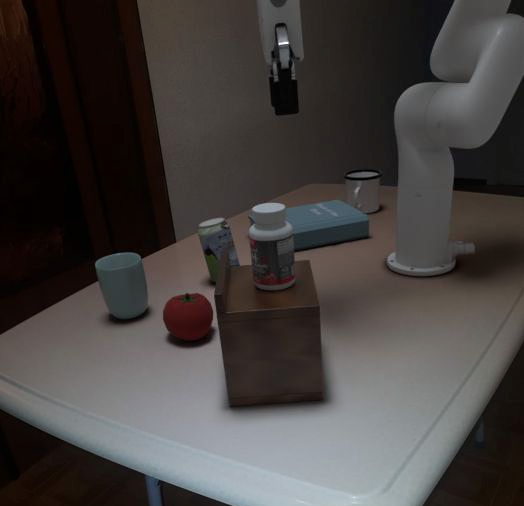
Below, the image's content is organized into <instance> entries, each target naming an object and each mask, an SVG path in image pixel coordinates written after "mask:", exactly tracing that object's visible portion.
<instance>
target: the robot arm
mask: <svg viewBox="0 0 524 506" xmlns="http://www.w3.org/2000/svg"><path fill="white" fill-rule="evenodd" d="M511 2H512V0H454V1H453V4H452V6H451V8H450V10H449V12H448V14H447V16H446V18H445V20H444V23H443V24H442V27H441V29H440V30H439V33H438V35H437V37H436V39H435V42H434V45H433V47H432V50H431V52H430V57H429V58H430V59H429V68H430V70H431V73H432V74H433V75H434V76H435V77H436V78H437V79H439V80H441V81H440V82H439V81H430V82H429V81H428V82H427V81H426V82H420V83H416V84H413V85H412V86H410V87H408V88H407V89H406V90H405V91H403V92H402V94H401V95H400V97H398V99H397V102H396V104H395V108H394V112H393V123H394V132H395V137H396V145H397V155H398V156H397V159H398V167H397V168H398V175H397V178H398V179H397V196H396V198H397V200H396V201H397V202H396V224H395V225H396V226H395V251H394V252H392V253H390V254H389V255H388V256H387V257H386V265H387V267H388V269H390V270H391V271H393V272H395V273H397V274H401V275H406V276H412V277H430V276H438V275H442V274H445V273H447V272H450V271H452V270H453V269H454V268H455V267H456V257H457V256H458V255H470V254H474V253H475V248H476V247H475V243H474V242H471V243H464V241H463V240H458V241H452V240H450V228H451V214H452V203H453V202H452V201H453V191H454V180H455V163H454V159H453V155H452V153H451V150H450V148H453V149H454V148H456V149H468V150H471V149H477V148H479V147H481V146H483V145H485V144H486V143H487V142H488V141H489V140H490V139H491V138H492V136H493V135H494V134H495V132H496V130H497V128H498V127H499V125H500V123H501V121H502V119H503V117H504V116H505V113H506V111H507V109H508V107H509V105H510V103H511V101H512V99H513V97H514V95H515V93H516V91H517V89H518V88H519V86H520V83H521V81H522V80H523V78H524V16H522V15H520V14H517V13H516V14H515V13H508V10H509V7H510V4H511ZM256 9H257V10H256V11H257V18H258V19H257V20H258V29H259V34H260V36H259V37H260V42H261V47H262V53H263V57H264V61H265V63H266V64H268V65H269V66H268V67H269V76H268V83H269V95H270V105H271V107H273V108H274V114H275V116H276V117H282V116H290V115H291V116H292V115H297V114H299V112H300V102H299V88H298V79H296V78H297V77H296V68H295V61H296V62H297V63H301V62H302V61H303V60H304V59H305V53H304V42H303V30H302V29H303V28H302V17H301V16H302V15H301V2H300V0H256Z"/></svg>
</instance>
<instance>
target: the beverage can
mask: <svg viewBox="0 0 524 506" xmlns="http://www.w3.org/2000/svg"><path fill="white" fill-rule="evenodd" d="M197 235H198V239H199V243H200V245H201V249H202V253H203V256H204V259H205V263H206V267H207V269H208V273H209V277H210V280H211V282H213V283H216V280H217V274H218V268H219V262H220V256H221V251H222V250H229V258H230V266H241V265H240V261H239V257H238V252H237V249H236V245H235V241H234V238H233V234H232V230H231V226H230V224H229V222H227V221H226V219H225V218H224V217H215V218H211V219H208V220H205V221H203V222H200V223H199V224H198V231H197Z"/></svg>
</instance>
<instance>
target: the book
mask: <svg viewBox="0 0 524 506" xmlns="http://www.w3.org/2000/svg"><path fill="white" fill-rule="evenodd" d="M285 209H286V219H285V221H286V222H288V223H289V224H290V225H291V226H292V228H293V241H294V252H296V251H301V250H307V249H311V248H317V247H323V246H327V245H333V244H338V243H342V242H349V241H355V240H361V239H365V238H368V236H369V235H370V219H369V216H368V214H364V213H363V212H361V211H359V210H357V209H355V208H353V207H351V206H349V205H348V204H346V202H344V201H342V200H340V199H334V200H327V201H321V202H316V203H311V204H304V205H299V206H293V207H287V208H286V207H285ZM252 217H253V216H252V213H251V214H248V215H247V218H248V219H249V221H250V222H249V223H250V227H251V226H252V225H254V224H255V222H254V221H253V218H252Z"/></svg>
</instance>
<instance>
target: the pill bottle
mask: <svg viewBox="0 0 524 506" xmlns="http://www.w3.org/2000/svg"><path fill="white" fill-rule="evenodd" d="M251 214H252V216H253V217H252V218H253V221H254V222H255V224H254V225H252V226H251V225H250V228H249V230H248V241H249V249H250V259H251V265H252V271H253V281H254V285H255V286H256V287H258V288H259V289H263V290H281V289H285V288H288V287H290V286H291V285H293V284H294V282H295V261H296V260H295V251H294V241H293V228H292V226H291V225H290V224H289V223H288V222H286V221H285V219H286V205H285V204H284V203H279V202H266V203H259V204H257V205H255V206H253V207H252V209H251Z"/></svg>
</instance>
